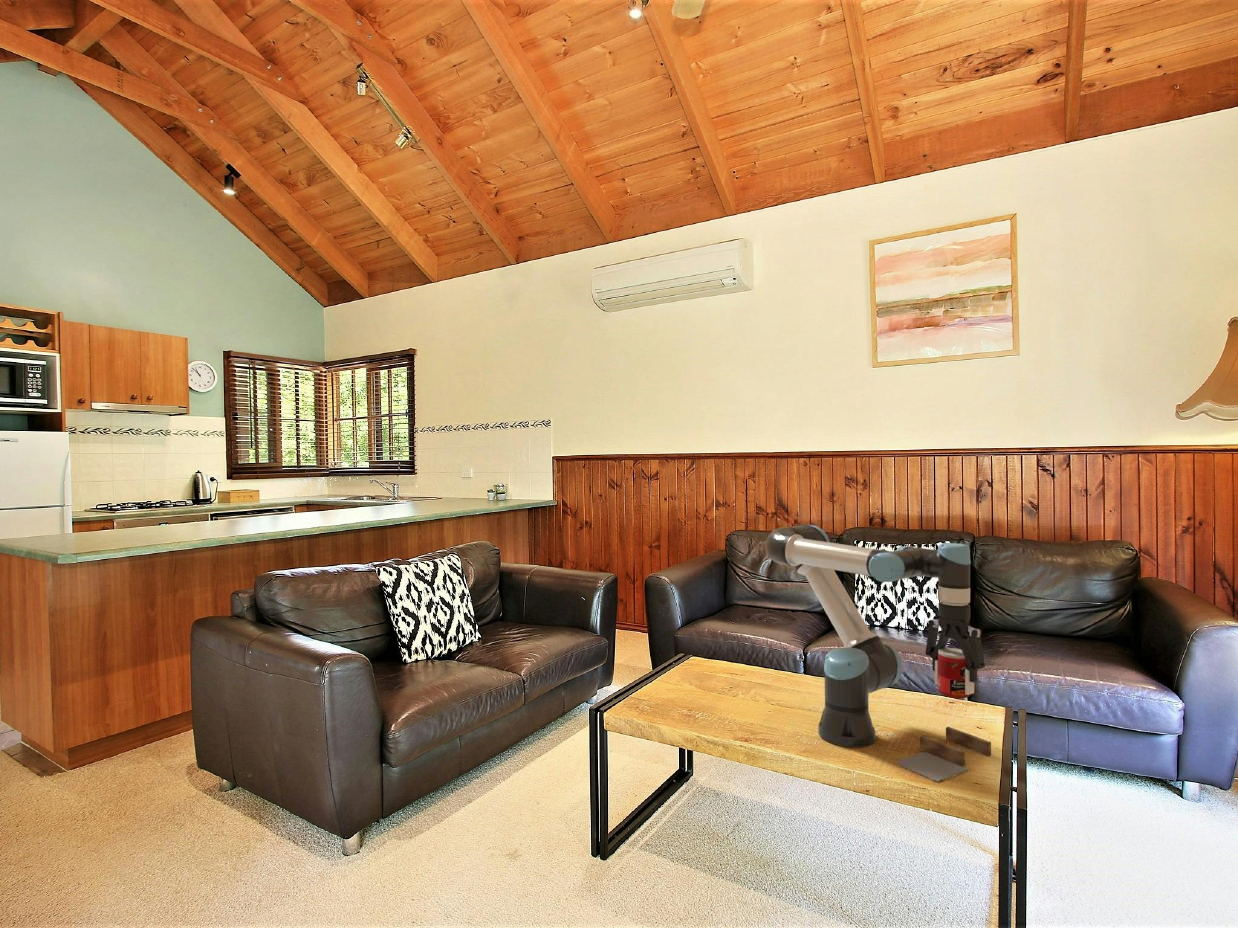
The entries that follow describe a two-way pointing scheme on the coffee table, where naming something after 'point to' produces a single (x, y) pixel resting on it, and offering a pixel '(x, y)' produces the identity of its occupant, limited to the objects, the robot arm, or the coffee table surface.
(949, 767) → the mat
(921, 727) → the coffee table surface
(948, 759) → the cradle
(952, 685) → the canned food
